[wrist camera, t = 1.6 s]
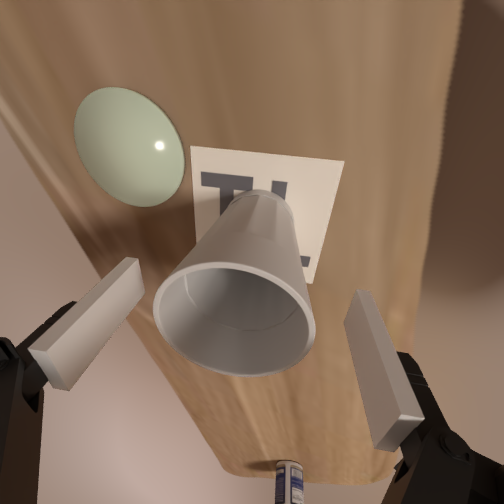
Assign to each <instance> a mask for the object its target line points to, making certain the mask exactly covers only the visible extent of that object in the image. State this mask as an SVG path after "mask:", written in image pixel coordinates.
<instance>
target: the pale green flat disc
mask: <svg viewBox="0 0 504 504" xmlns="http://www.w3.org/2000/svg"><path fill="white" fill-rule="evenodd" d="M74 137H75V143H76V147H77V150H78V153H79V156H80V158H81V160H82V163H83V165H84V166H85V168H86V170H87V171H88V173H89V174H90V176H91V177H92V178H93V179H94V180H95V182H96V183H97V184H98V185H99V186H100V187H101V188H102V189H103V190H105V191H106V192H107V193H108V194H110V195H111V196H113V197H114V198H116V199H118V200H120V201H122V202H124V203H126V204H130V205H133V206H139V207H150V206H155V205H158V204H161V203H163V202H165V201H166V200H168V199H169V198H170V197H171V196H172V195H174V193H175V192H176V191H177V190H178V188H179V187H180V185H181V183H182V180H183V177H184V173H185V153H184V148H183V144H182V141H181V138H180V135H179V133H178V131H177V129H176V127H175V126H174V124H173V122H172V121H171V119H170V118H169V117H168V116H167V114H166V113H165V112H164V111H163V110H162V109H161V108H160V107H159V106H158V105H157V104H156V103H155V102H153V101H152V100H151V99H149V98H148V97H146V96H145V95H143V94H141V93H139V92H136V91H133V90H130V89H126V88H118V87H107V88H102V89H99V90H96V91H94V92H92V93H91V94H89V95H88V96H87V97H86V98H85V99H84V100H83V101H82V103H81V104H80V106H79V108H78V110H77V113H76V116H75V122H74Z"/></svg>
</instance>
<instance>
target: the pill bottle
mask: <svg viewBox="0 0 504 504" xmlns="http://www.w3.org/2000/svg"><path fill="white" fill-rule="evenodd" d="M275 504H304V494H303V468H302V466H301V465H300V464H298V463H296V462H294V461H279V462H278V463H277V465H276V488H275Z"/></svg>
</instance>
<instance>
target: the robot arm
mask: <svg viewBox="0 0 504 504" xmlns="http://www.w3.org/2000/svg"><path fill="white" fill-rule="evenodd" d="M144 294H145V289H144V284H143V279H142V275H141V270H140V265H139V260H138V258H131V257H126V258H125V259H123V260H122V261H121V262H120V263H119V264H118V265H117V266H116V267H115V268H114V269H113V270H112V271H111V272H109V273H108V274H107V275H106V276H105V277H104V278H103V279H102V280H101V281H100V282H99V283H98V284H97V285H95V286H94V287H93V288H92V289H91V290H90V291H89V292H88V293H87V294H86V295H85V296H84V297H83V298H81V300H79V301H78V302H75V301H72V302H70V303H68V304H66V305H65V306H63V307H61V308H60V309H59V310H58V311H57V312H55V313H54V314H53V315H52V317H50V318H49V319H47V320H46V321H45V323H44V324H42V325H41V326H39V328H37V329H36V330H35V331H34V332H33V333H32V334H30V335H29V336H28V337H27V338H26V339H25V340H24V341H23V342H22V343H20V344H19V345H18V346H17V347H16V348H15V347H14V345H13V344H12V342H11V341H10V340H9V339H7V338H5V337H0V504H37V493H38V478H39V463H40V448H41V433H42V418H43V403H44V390H43V386H44V385H45V384H46V382H48V381H49V382H50V384H51V385H52V387H53V388H55V389H60V390H66V391H70V389H71V388H72V387H73V386H74V384H75V383H76V382H77V380H78V379H79V378H80V377H81V375H82V374H83V373H84V371H85V370H86V369H87V368H88V366H89V365H90V363H91V362H92V361H93V360H94V358H95V357H96V356H97V355H98V353H99V352H100V351H101V349H102V348H103V347H104V346H105V344H106V343H107V342H108V340H109V339H110V338H111V336H112V335H113V334H114V333H115V331H116V330H117V329H118V327H119V326H120V325H121V323H122V322H123V321H124V320H125V318H126V317H127V316H128V314H129V313H130V312H131V311H132V309H133V308H134V307H135V305H136V304H137V303H138V301H139V300H140V299H141V298H142V296H143V295H144ZM344 326H345V331H346V335H347V339H348V343H349V347H350V351H351V355H352V359H353V363H354V367H355V372H356V376H357V380H358V384H359V388H360V392H361V396H362V400H363V404H364V408H365V413H366V417H367V421H368V425H369V429H370V433H371V437H372V441H373V445H374V449H379V450H385V451H390V452H395V451H396V450H397V448H398V447H399V446H400V447H401V451H402V453H403V457H404V458H403V459H402V460H401V461H400V462H399V463H398V464H397V465H396V466H395V467H394V469H395V470H396V472H395V475H394V477H393V479H392V481H391V483H390V485H389V488H388V490H387V492H386V494H385V497H384V499H383V501H382V503H381V504H504V465H501V464H499V463H497V462H495V461H493V460H491V459H489V458H487V457H485V456H483V455H481V454H479V453H477V452H475V451H473V450H472V449H470V447H469V446H468V445H467V443H466V442H465V441H464V440H463V439H462V438H461V437H460V436H459V435H458V434H457V433H455V432H453V431H452V430H451V429H450V428H449V426H448V424H447V422H446V420H445V418H444V416H443V414H442V412H441V410H440V408H439V406H438V404H437V402H436V400H435V398H434V396H433V394H432V392H431V390H430V388H428V384H427V382H426V380H425V378H424V377H423V374H422V372H421V370H420V368H419V366H418V364H417V363H416V361H415V360H414V359H413V358H412V357H411V356H410V355H409V354H408V353H403V352H397V351H396V350H395V348H394V345H393V343H392V341H391V338H390V336H389V334H388V331H387V329H386V327H385V324H384V322H383V320H382V317H381V315H380V313H379V310H378V308H377V306H376V303H375V301H374V299H373V296H372V294H371V292H370V291H367V290H360V289H356V292H355V294H354V297H353V299H352V302H351V305H350V307H349V310H348V312H347V315H346V318H345V320H344Z"/></svg>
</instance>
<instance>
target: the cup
mask: <svg viewBox="0 0 504 504" xmlns="http://www.w3.org/2000/svg"><path fill="white" fill-rule="evenodd" d="M153 315H154V320H155V323H156V325H157V328H158V330H159V332H160V333H161V335H162V336H163V338H164V339H165V340H166V342H167V343H168V344H169V345H170V346H171V347H172V348H173V349H174V350H175V351H177V352H178V353H179V354H180V355H182V356H183V357H185V358H186V359H188V360H189V361H191V362H193V363H195V364H197V365H199V366H201V367H203V368H206V369H208V370H211V371H214V372H217V373H221V374H225V375H231V376H238V377H261V376H268V375H273V374H276V373H280V372H282V371H285V370H287V369H289V368H291V367H293V366H294V365H296V364H297V363H299V362H300V361H301V360H302V359H303V358H304V357H305V356H306V355H307V354H308V352H309V351H310V349H311V347H312V345H313V342H314V338H315V322H314V317H313V313H312V308H311V304H310V299H309V295H308V290H307V286H306V281H305V277H304V273H303V268H302V263H301V258H300V253H299V248H298V243H297V238H296V233H295V228H294V216H293V213H292V210H291V208H290V207H289V205H288V204H287V203H286V201H285V200H284V199H282V198H281V197H280V196H278V195H277V194H275V193H273V192H270V191H266V190H249V191H246V192H243V193H241V194H239V195H238V196H236V197H235V198H234V199H233V200H232V201H231V202H230V204H229V205H228V207H227V209H226V210H225V211H224V212H223V214H222V215H221V216H220V217H219V218H218V219H217V221H216V222H215V223H214V224H213V225H212V226H211V228H210V229H209V230H208V231H207V232H206V234H205V235H204V236H203V237H202V238H201V239H200V241H199V242H198V243H197V244H196V245H195V247H194V248H193V249H192V250H191V251H190V252H189V253H188V255H187V256H186V257H185V258H184V259H183V260H182V261H181V262H180V264H179V265H178V266H177V267H176V268H175V269H174V270H173V271H172V273H171V274H170V275H169V276H168V277H167V278H166V279H165V280H164V282H163V283H162V284H161V285H160V287H159V288H158V290H157V292H156V294H155V297H154V302H153Z"/></svg>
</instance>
